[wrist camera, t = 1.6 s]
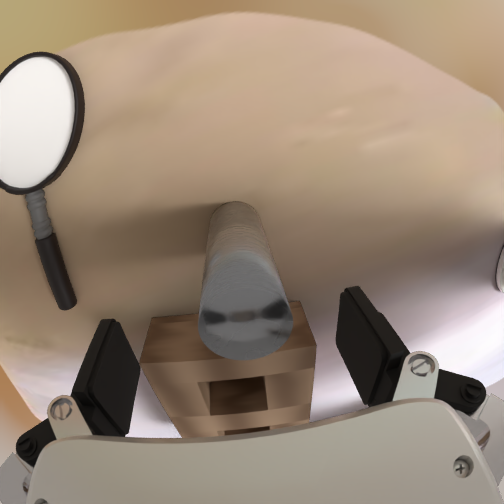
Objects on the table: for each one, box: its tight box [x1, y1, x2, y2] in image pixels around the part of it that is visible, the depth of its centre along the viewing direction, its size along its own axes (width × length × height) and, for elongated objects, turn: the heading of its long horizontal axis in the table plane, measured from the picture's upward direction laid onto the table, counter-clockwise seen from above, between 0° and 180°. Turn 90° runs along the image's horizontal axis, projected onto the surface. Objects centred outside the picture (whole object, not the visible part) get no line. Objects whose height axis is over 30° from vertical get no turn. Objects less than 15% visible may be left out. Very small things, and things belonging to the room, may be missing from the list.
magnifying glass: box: [0, 52, 85, 310], centre depth 18 cm, size 12×24×2 cm, turn 3°
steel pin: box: [198, 202, 293, 360], centre depth 17 cm, size 4×4×12 cm
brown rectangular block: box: [139, 301, 317, 438], centre depth 28 cm, size 14×20×6 cm
